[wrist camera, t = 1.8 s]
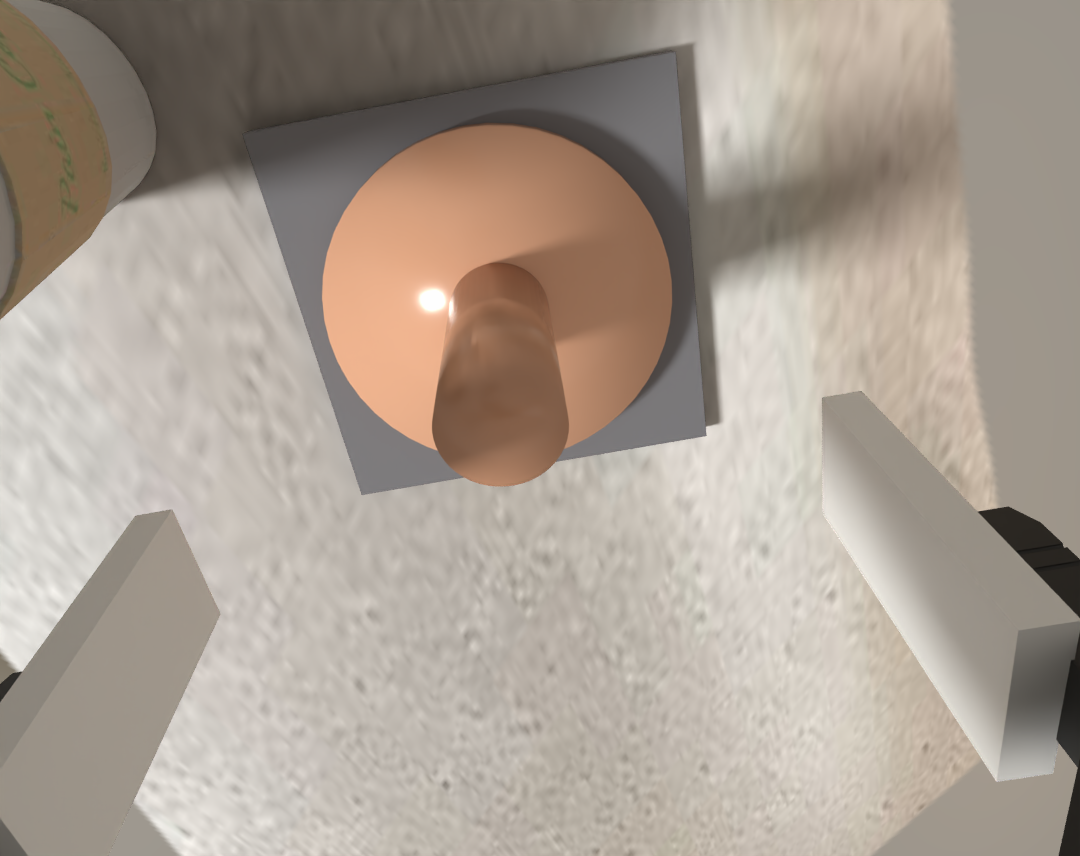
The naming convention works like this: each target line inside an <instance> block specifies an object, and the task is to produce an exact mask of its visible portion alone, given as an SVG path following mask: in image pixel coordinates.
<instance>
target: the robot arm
mask: <svg viewBox="0 0 1080 856" xmlns="http://www.w3.org/2000/svg"><path fill="white" fill-rule="evenodd" d="M822 464H823V515H824V516H825V518H826V519H827V521H828V523H829V524H830V526H831V527H832V529H833V530H834V532H835V533H836V535H837V536H838V538H839V539H840V541H841V543H842V544H843V546H844V547H845V549H846V550H847V552H848V553H849V555H850V556H851V558H852V560H853V561H854V563H855V564H856V566H857V567H858V569H859V570H860V572H861V573H862V575H863V577H864V578H865V580H866V581H867V583H868V584H869V586H870V587H871V589H872V590H873V592H874V593H875V595H876V597H877V598H878V600H879V601H880V603H881V604H882V606H883V607H884V609H885V610H886V612H887V614H888V615H889V617H890V618H891V620H892V621H893V623H894V624H895V626H896V627H897V629H898V630H899V632H900V634H901V635H902V637H903V638H904V640H905V641H906V643H907V644H908V646H909V647H910V649H911V651H912V652H913V654H914V655H915V657H916V658H917V660H918V661H919V663H920V664H921V666H922V668H923V669H924V671H925V672H926V674H927V675H928V677H929V678H930V680H931V681H932V683H933V684H934V686H935V688H936V689H937V691H938V692H939V694H940V695H941V697H942V698H943V700H944V701H945V703H946V705H947V706H948V708H949V709H950V711H951V712H952V714H953V715H954V717H955V718H956V720H957V721H958V723H959V725H960V726H961V728H962V729H963V731H964V732H965V734H966V735H967V737H968V738H969V740H970V742H971V743H972V745H973V746H974V748H975V749H976V751H977V752H978V754H979V755H980V757H981V759H982V760H983V762H984V763H985V765H986V766H987V767H988V769H989V771H990V772H991V774H992V775H993V777H994V779H995V780H996V782H999V781H1006V780H1012V779H1019V778H1025V777H1032V776H1038V775H1045V774H1051V773H1053V770H1054V764H1055V759H1056V754H1057V749H1058V743H1059V744H1060V745H1061V746H1062V748H1063V749H1064V750H1065V751H1066V753H1067V754H1068V755H1069V757H1070V758H1071V759H1072V761H1073V762H1074V763H1075V765H1076V766H1077V767H1078V770H1077V774H1076V779H1075V784H1074V788H1073V793H1072V797H1071V802H1070V807H1069V811H1068V815H1067V821H1066V825H1065V830H1064V834H1063V838H1062V843H1061V847H1060V852H1059V856H1080V559H1079V558H1078V557H1077V556H1076V555H1075V554H1074V553H1072V552H1071V551H1070V550H1069V549H1068V548H1067V547H1066V548H1064V547H1063V543H1062V542H1061V541H1060V540H1059V539H1057V537H1055V536H1054V535H1053V534H1052V533H1051V532H1050V531H1049V530H1048V529H1047V528H1046V527H1045V526H1044V525H1043V524H1042V523H1040V522H1038V521H1036V520H1034V519H1032V518H1030V517H1028V516H1026V515H1024V514H1022V513H1020V512H1018V511H1016V510H1014V509H1012V508H1010V507H1003V508H997V509H991V510H985V511H979V512H977V511H976V510H975V509H974V508H973V507H972V506H971V504H970V503H969V502H968V501H967V500H966V499H965V498H964V497H963V496H962V495H961V494H960V493H959V492H958V491H957V490H956V489H955V488H954V487H953V486H952V485H951V484H950V483H949V482H948V481H947V480H946V479H945V477H944V476H943V475H942V474H941V473H940V472H939V471H938V470H937V469H936V468H935V467H934V466H933V465H932V464H931V463H930V462H929V461H928V460H927V459H926V458H925V457H924V456H923V455H922V454H921V453H920V451H919V450H918V449H917V448H916V447H915V446H914V445H913V444H912V443H911V442H910V441H909V440H908V439H907V438H906V437H905V436H904V435H903V434H902V433H901V432H900V431H899V430H898V429H897V428H896V427H895V425H894V424H893V423H892V422H891V421H890V420H889V419H888V418H887V417H886V416H885V415H884V414H883V413H882V412H881V411H880V410H879V409H878V408H877V407H876V406H875V405H874V404H873V403H872V402H871V401H870V399H869V398H868V397H867V396H866V395H865V394H864V393H863V392H862V391H858V392H852V393H847V394H841V395H835V396H829V397H823V398H822ZM219 616H220V612H219V610H218V607H217V605H216V603H215V601H214V599H213V597H212V594H211V592H210V590H209V588H208V586H207V584H206V581H205V579H204V577H203V575H202V573H201V571H200V568H199V566H198V564H197V562H196V560H195V558H194V555H193V553H192V551H191V549H190V547H189V545H188V543H187V540H186V538H185V536H184V534H183V532H182V530H181V527H180V525H179V523H178V521H177V519H176V517H175V514H174V512H173V510H166V511H160V512H155V513H149V514H143V515H137V516H135V517H134V519H133V520H132V521H131V523H130V524H129V525H128V527H127V528H126V530H125V531H124V532H123V534H122V535H121V537H120V538H119V539H118V541H117V542H116V543H115V545H114V546H113V548H112V549H111V550H110V552H109V553H108V554H107V556H106V557H105V559H104V560H103V561H102V563H101V564H100V565H99V567H98V568H97V570H96V571H95V572H94V574H93V575H92V577H91V578H90V579H89V581H88V582H87V583H86V585H85V586H84V588H83V589H82V590H81V592H80V593H79V594H78V596H77V597H76V599H75V600H74V601H73V603H72V604H71V605H70V607H69V608H68V610H67V611H66V612H65V614H64V615H63V617H62V618H61V619H60V621H59V622H58V623H57V625H56V626H55V628H54V629H53V630H52V632H51V633H50V634H49V636H48V637H47V639H46V640H45V641H44V643H43V644H42V645H41V647H40V648H39V650H38V651H37V652H36V654H35V655H34V656H33V658H32V659H31V661H30V662H29V663H28V665H27V666H26V668H25V669H24V670H23V672H17V673H13V674H11V675H10V676H9V677H8V678H7V679H6V680H4V681H3V682H2V683H1V684H0V856H108V855H109V853H110V851H111V848H112V846H113V844H114V842H115V840H116V838H117V836H118V833H119V831H120V829H121V827H122V825H123V823H124V820H125V818H126V816H127V814H128V812H129V810H130V808H131V805H132V803H133V801H134V799H135V797H136V795H137V793H138V790H139V788H140V786H141V784H142V782H143V780H144V778H145V775H146V773H147V771H148V769H149V767H150V765H151V762H152V760H153V758H154V756H155V754H156V752H157V750H158V747H159V745H160V743H161V741H162V739H163V737H164V734H165V732H166V730H167V728H168V726H169V724H170V722H171V719H172V717H173V715H174V713H175V711H176V709H177V707H178V704H179V702H180V700H181V698H182V696H183V694H184V691H185V689H186V687H187V685H188V683H189V681H190V679H191V676H192V674H193V672H194V670H195V668H196V666H197V663H198V661H199V659H200V657H201V655H202V653H203V651H204V648H205V646H206V644H207V642H208V640H209V638H210V635H211V633H212V631H213V629H214V627H215V625H216V623H217V620H218V618H219Z"/></svg>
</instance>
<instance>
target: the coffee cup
mask: <svg viewBox="0 0 1080 856" xmlns="http://www.w3.org/2000/svg"><path fill="white" fill-rule="evenodd" d="M155 151H156V127H155V120H154V114H153V111H152V108H151V105H150V102H149V99H148V96H147V93H146V91H145V89H144V87H143V85H142V83H141V81H140V79H139V77H138V75H137V73H136V72H135V70H134V69H133V67H132V66H131V64H130V63H129V62H128V60H127V59H126V57H125V56H124V54H123V53H122V52H121V51H120V50H119V48H118V47H117V46H116V45H115V44H114V43H113V42H112V41H111V40H110V39H109V38H108V37H107V36H106V34H104V33H103V32H102V31H101V30H99V29H98V28H97V27H96V26H94V25H93V24H92V23H91V22H89V21H88V20H87V19H85V18H83V17H82V16H80V15H78V14H76V13H74V12H72V11H70V10H69V9H67V8H64V7H61V6H57V5H54V4H50V3H47V2H44V1H39V0H0V319H1V318H3V317H4V316H5V315H6V314H7V313H8V312H9V311H10V310H11V309H12V308H13V307H15V306H16V305H17V304H18V303H19V302H20V301H21V300H22V299H23V298H24V297H26V296H27V295H28V294H29V293H30V292H31V291H32V290H33V289H34V288H35V287H36V286H38V285H39V284H40V283H41V282H42V281H43V280H44V279H45V278H46V277H47V276H49V275H50V274H51V273H52V272H53V271H54V270H55V269H56V268H57V267H58V266H59V265H61V264H62V263H63V262H64V261H65V260H66V259H67V258H68V257H69V256H70V255H71V254H73V253H74V252H75V251H76V250H77V249H78V248H79V247H80V246H81V245H82V244H83V243H84V242H85V241H87V240H88V239H89V238H90V237H91V235H92V233H93V232H94V230H95V229H96V227H97V226H98V224H99V223H100V221H101V220H102V218H103V217H104V216H105V215H106V214H107V213H108V212H110V211H111V210H112V209H113V208H114V207H115V206H116V205H117V204H118V203H119V202H121V201H122V200H123V199H124V198H125V197H126V196H127V195H128V194H129V193H130V192H131V191H132V190H134V189H135V188H136V187H137V186H138V185H139V184H140V183H141V181H142V180H143V178H144V177H145V175H146V174H147V172H148V170H149V169H150V167H151V164H152V161H153V158H154V155H155Z"/></svg>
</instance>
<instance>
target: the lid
mask: <svg viewBox="0 0 1080 856" xmlns="http://www.w3.org/2000/svg"><path fill="white" fill-rule="evenodd" d="M322 302H323V312H324V321H325V325H326V329H327V333H328V337H329V341H330V344H331V346H332V349H333V352H334V354H335V357H336V359H337V362H338V364H339V365H340V367H341V369H342V371H343V373H344V374H345V376H346V378H347V380H348V381H349V383H350V384H351V385H352V387H353V388H354V390H355V391H356V392H357V394H358V395H359V396H360V398H361V399H362V400H363V401H364V402H365V403H366V404H367V405H368V406H369V407H370V408H371V409H372V410H373V412H374V413H375V414H377V415H378V416H379V417H380V418H382V419H383V420H384V421H385V422H386V423H388V424H389V425H390V426H391V427H393V428H394V429H396V430H397V431H399V432H400V433H402V434H404V435H405V436H407V437H408V438H410V439H412V440H414V441H416V442H418V443H420V444H422V445H424V446H426V447H429V448H432V449H434V450H437V451H438V452H439V454H440V455H441V457H442V458H443V460H444V461H445V462H446V463H447V464H448V465H449V467H450V468H452V469H453V470H454V471H455V472H456V473H458V474H460V475H461V476H463V477H464V478H467V479H469V480H471V481H473V482H476V483H479V484H484V485H488V486H512V485H517V484H521V483H524V482H527V481H530V480H532V479H534V478H536V477H538V476H539V475H541V474H543V473H544V472H545V471H547V470H548V469H549V468H550V467H551V466H552V465H553V464H554V463H555V462H556V461H557V459H558V458H559V456H560V455H561V453H562V451H563V450H564V449H565V448H568V447H570V446H572V445H574V444H576V443H578V442H580V441H583V440H585V439H587V438H588V437H590V436H591V435H593V434H594V433H596V432H598V431H599V430H601V429H602V428H604V427H605V426H606V425H608V424H609V423H610V422H611V421H612V420H614V419H615V418H616V417H617V416H618V415H620V414H621V413H622V412H623V411H624V409H625V408H626V407H627V406H628V405H629V404H630V403H631V402H632V401H633V400H634V399H635V398H636V396H637V395H638V393H639V392H640V391H641V389H642V388H643V387H644V385H645V384H646V382H647V381H648V379H649V377H650V375H651V374H652V372H653V370H654V368H655V366H656V365H657V362H658V360H659V357H660V355H661V352H662V350H663V347H664V345H665V341H666V337H667V333H668V329H669V325H670V317H671V308H672V280H671V274H670V268H669V261H668V257H667V254H666V250H665V247H664V244H663V241H662V238H661V235H660V233H659V231H658V229H657V227H656V225H655V222H654V220H653V218H652V216H651V215H650V213H649V212H648V210H647V209H646V207H645V205H644V204H643V202H642V201H641V199H640V198H639V196H638V195H637V194H636V192H635V191H634V190H633V188H632V187H631V186H630V185H629V184H628V183H627V182H626V180H625V179H624V178H623V177H622V176H621V175H620V174H619V172H617V171H616V170H615V169H614V168H613V167H612V166H610V165H609V164H608V163H607V162H606V161H605V160H604V159H602V158H601V157H600V156H598V155H597V154H595V153H594V152H592V151H591V150H589V149H587V148H586V147H584V146H583V145H581V144H579V143H577V142H575V141H573V140H571V139H569V138H566V137H564V136H562V135H560V134H557V133H554V132H551V131H547V130H544V129H541V128H538V127H533V126H527V125H521V124H515V123H479V124H471V125H463V126H459V127H455V128H451V129H447V130H444V131H440V132H437V133H435V134H433V135H430V136H428V137H425V138H423V139H421V140H418V141H416V142H415V143H413V144H411V145H410V146H408V147H406V148H405V149H403V150H401V151H400V152H398V153H396V154H395V155H394V156H393V157H391V158H390V159H389V160H388V161H387V162H385V163H384V164H383V165H382V166H380V167H379V168H378V169H377V170H376V171H375V172H374V173H373V174H372V176H371V177H370V178H369V179H368V180H367V181H366V182H365V183H364V184H363V185H362V187H361V188H360V189H359V191H358V192H357V194H356V195H355V197H354V198H353V199H352V201H351V202H350V204H349V205H348V207H347V208H346V210H345V211H344V213H343V215H342V217H341V219H340V221H339V223H338V225H337V227H336V229H335V231H334V234H333V237H332V240H331V243H330V246H329V249H328V252H327V256H326V261H325V267H324V273H323V287H322Z"/></svg>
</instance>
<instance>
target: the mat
mask: <svg viewBox="0 0 1080 856" xmlns="http://www.w3.org/2000/svg"><path fill="white" fill-rule="evenodd" d="M479 123H515V124H521V125H527V126H533V127H538V128H541V129H544V130H547V131H551V132H554V133H557V134H560V135H562V136H564V137H566V138H569V139H571V140H573V141H575V142H577V143H579V144H581V145H583V146H584V147H586V148H587V149H589V150H591V151H592V152H594V153H595V154H597V155H598V156H600V157H601V158H602V159H604V160H605V161H606V162H607V163H608V164H609V165H610V166H612V167H613V168H614V169H615V170H616V171H617V172H619V174H620V175H621V176H622V177H623V178H624V179H625V180H626V182H627V183H628V184H629V185H630V186H631V187H632V188H633V190H634V191H635V192H636V194H637V195H638V196H639V198H640V199H641V201H642V202H643V204H644V205H645V207H646V209H647V210H648V212H649V213H650V215H651V216H652V218H653V220H654V222H655V225H656V227H657V229H658V231H659V233H660V235H661V238H662V241H663V244H664V247H665V250H666V254H667V257H668V261H669V268H670V274H671V280H672V308H671V317H670V325H669V329H668V333H667V337H666V341H665V345H664V347H663V350H662V352H661V355H660V357H659V360H658V362H657V365H656V366H655V368H654V370H653V372H652V374H651V375H650V377H649V379H648V381H647V382H646V384H645V385H644V387H643V388H642V389H641V391H640V392H639V393H638V395H637V396H636V398H635V399H634V400H633V401H632V402H631V403H630V404H629V405H628V406H627V407H626V408H625V409H624V411H623V412H622V413H621V414H620V415H618V416H617V417H616V418H615V419H614V420H612V421H611V422H610V423H609V424H608V425H606V426H605V427H604V428H602V429H601V430H599V431H598V432H596V433H594V434H593V435H591V436H590V437H588V438H587V439H585V440H583V441H580V442H578V443H576V444H574V445H572V446H570V447H568V448H565V449H564V450H563V451H562V453H561V455H560V456H559V458H558V459H557V461H563V460H569V459H575V458H581V457H586V456H592V455H598V454H604V453H610V452H615V451H621V450H627V449H633V448H639V447H645V446H650V445H656V444H662V443H668V442H674V441H680V440H685V439H691V438H697V437H703V436H706V425H705V412H704V400H703V387H702V375H701V362H700V350H699V337H698V325H697V312H696V300H695V287H694V275H693V262H692V250H691V238H690V225H689V213H688V200H687V188H686V175H685V163H684V150H683V138H682V125H681V113H680V100H679V88H678V75H677V63H676V52H674V51H668V52H662V53H657V54H652V55H647V56H641V57H636V58H631V59H626V60H620V61H615V62H610V63H604V64H599V65H594V66H589V67H583V68H578V69H573V70H568V71H562V72H557V73H552V74H547V75H541V76H536V77H531V78H525V79H520V80H515V81H510V82H504V83H499V84H494V85H489V86H483V87H478V88H473V89H467V90H462V91H457V92H452V93H446V94H441V95H436V96H431V97H425V98H420V99H415V100H410V101H404V102H399V103H394V104H388V105H383V106H378V107H373V108H367V109H362V110H357V111H352V112H346V113H341V114H336V115H331V116H325V117H320V118H315V119H309V120H304V121H299V122H294V123H288V124H283V125H278V126H273V127H267V128H262V129H257V130H252V131H247V132H245V133H243V134H242V135H243V138H244V141H245V144H246V147H247V150H248V153H249V156H250V159H251V162H252V165H253V168H254V171H255V174H256V177H257V180H258V183H259V186H260V189H261V192H262V195H263V198H264V201H265V204H266V207H267V210H268V213H269V216H270V219H271V222H272V225H273V228H274V231H275V234H276V237H277V240H278V243H279V246H280V249H281V252H282V255H283V258H284V261H285V264H286V267H287V270H288V274H289V277H290V280H291V283H292V286H293V289H294V292H295V295H296V298H297V301H298V304H299V307H300V310H301V313H302V316H303V319H304V322H305V325H306V328H307V331H308V334H309V337H310V340H311V343H312V346H313V349H314V352H315V355H316V358H317V361H318V364H319V367H320V370H321V373H322V376H323V379H324V382H325V385H326V388H327V391H328V394H329V397H330V400H331V403H332V406H333V409H334V412H335V415H336V419H337V422H338V425H339V428H340V431H341V434H342V437H343V440H344V443H345V446H346V449H347V452H348V455H349V458H350V461H351V464H352V467H353V470H354V473H355V476H356V479H357V482H358V485H359V488H360V491H361V494H362V495H365V494H371V493H376V492H382V491H388V490H394V489H400V488H406V487H411V486H417V485H423V484H429V483H435V482H441V481H446V480H452V479H458V478H464V477H463V476H461V475H460V474H458V473H456V472H455V471H454V470H453V469H452V468H450V467H449V465H448V464H447V463H446V462H445V461H444V460H443V458H442V457H441V455H440V454H439V452H438V451H437V450H434V449H432V448H429V447H426V446H424V445H422V444H420V443H418V442H416V441H414V440H412V439H410V438H408V437H407V436H405V435H404V434H402V433H400V432H399V431H397V430H396V429H394V428H393V427H391V426H390V425H389V424H388V423H386V422H385V421H384V420H383V419H382V418H380V417H379V416H378V415H377V414H375V413H374V412H373V410H372V409H371V408H370V407H369V406H368V405H367V404H366V403H365V402H364V401H363V400H362V399H361V398H360V396H359V395H358V394H357V392H356V391H355V390H354V388H353V387H352V385H351V384H350V383H349V381H348V380H347V378H346V376H345V374H344V373H343V371H342V369H341V367H340V365H339V364H338V362H337V359H336V357H335V354H334V352H333V349H332V346H331V344H330V341H329V337H328V333H327V329H326V325H325V321H324V312H323V302H322V287H323V273H324V267H325V261H326V256H327V252H328V249H329V246H330V243H331V240H332V237H333V234H334V231H335V229H336V227H337V225H338V223H339V221H340V219H341V217H342V215H343V213H344V211H345V210H346V208H347V207H348V205H349V204H350V202H351V201H352V199H353V198H354V197H355V195H356V194H357V192H358V191H359V189H360V188H361V187H362V185H363V184H364V183H365V182H366V181H367V180H368V179H369V178H370V177H371V176H372V174H373V173H374V172H375V171H376V170H377V169H378V168H379V167H380V166H382V165H383V164H384V163H385V162H387V161H388V160H389V159H390V158H391V157H393V156H394V155H395V154H396V153H398V152H400V151H401V150H403V149H405V148H406V147H408V146H410V145H411V144H413V143H415V142H416V141H418V140H421V139H423V138H425V137H428V136H430V135H433V134H435V133H437V132H440V131H444V130H447V129H451V128H455V127H459V126H463V125H471V124H479ZM557 461H556V462H557Z"/></svg>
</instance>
